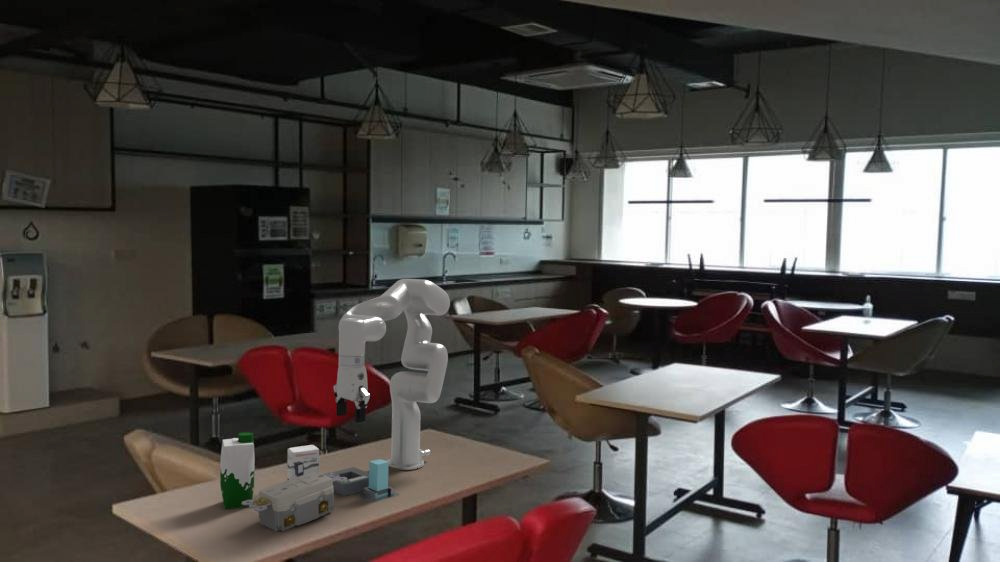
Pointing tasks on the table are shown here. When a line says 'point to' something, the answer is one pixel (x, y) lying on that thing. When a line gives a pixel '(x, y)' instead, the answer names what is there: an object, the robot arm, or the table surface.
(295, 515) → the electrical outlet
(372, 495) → the holster
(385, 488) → the plug
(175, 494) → the table surface
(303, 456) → the ink box
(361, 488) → the port
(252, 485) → the milk carton
